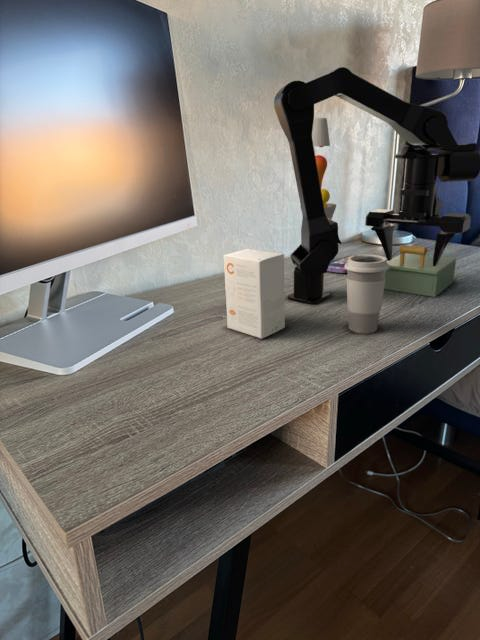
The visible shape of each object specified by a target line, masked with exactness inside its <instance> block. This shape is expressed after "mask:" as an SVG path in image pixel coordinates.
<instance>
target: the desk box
mask: <svg viewBox="0 0 480 640" xmlns="http://www.w3.org/2000/svg"><path fill="white" fill-rule="evenodd" d="M456 263H457V260H456V261H455V262H454V263H452V264H451V265H449V266H448V267H447V268H445V269H444V270H443V271H441V272H440V273H438V274H437V275H435V274H428V273H420V272H413V271H405V270H398V269H391V268H389V269H388V270H386V272H385V277H386V279H385V285H384V290H389V291H395V292H402V293H407V294H414V295H419V296H426V297H432V298H436V297H437V296H438V295H439V294H441V293H442V292H443V291H444V290H445V289H447V288H448V287H449V286H450V285H452V284H453V283H454V278H455V272H456V271H455V270H456V265H457V264H456Z"/></svg>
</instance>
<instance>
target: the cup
mask: <svg viewBox="0 0 480 640" xmlns="http://www.w3.org/2000/svg"><path fill="white" fill-rule="evenodd" d="M349 256H350V257H349V258H348V262H347V263H346V264H345V269H347V270H348V273H347V276H346V296H347V297H346V302H347V303H346V309H347V313H348V314H347V315H348V330H349V331H351V332H353V333H356V334H361V335H362V334H363V335H365V334H367V335H368V334H373V333H375V332H377V330H378V326H379V325H378V324H379V318H380V312H381V311H382V305H383V304H382V303H383V299H384V291H385V289H384V285H385V279H386V277H385V272H386V270H388V269H389V264H388V263H387V261H388V260H387V257H386V256H384V255H383V256H382V255H379V254H365V253H363V254H356V255H355V254H354V255H349Z"/></svg>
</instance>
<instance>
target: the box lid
mask: <svg viewBox="0 0 480 640" xmlns="http://www.w3.org/2000/svg"><path fill="white" fill-rule="evenodd" d="M399 253H400V254H398V255H396V256H394V257H392V258H391V260H390V261H388V260H387V263H388V264H389V268H391V269H398V270H405V271H413V272H420V273H428V274H435V275H437V274H438V273H440V272H441V271H443V270H444V269H445V268H447V267H448V266H449V265H451V264H452V263H454V262H455V261H456V262H457V257H448V256H441V257H440V259H439V261H438V263H437V265H436V266H433V256H434V255H431V254H427V253H428V247H427V246H418V245H408V244H401V245H399Z"/></svg>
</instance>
